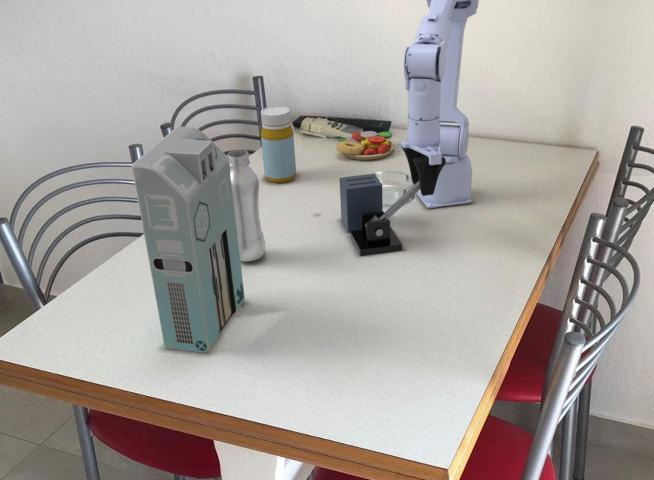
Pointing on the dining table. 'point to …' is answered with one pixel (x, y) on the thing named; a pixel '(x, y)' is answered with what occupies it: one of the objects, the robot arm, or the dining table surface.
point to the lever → (398, 203)
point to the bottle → (278, 145)
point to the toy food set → (366, 145)
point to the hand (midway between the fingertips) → (422, 188)
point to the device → (190, 237)
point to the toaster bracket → (375, 236)
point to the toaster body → (359, 199)
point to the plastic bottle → (246, 206)
